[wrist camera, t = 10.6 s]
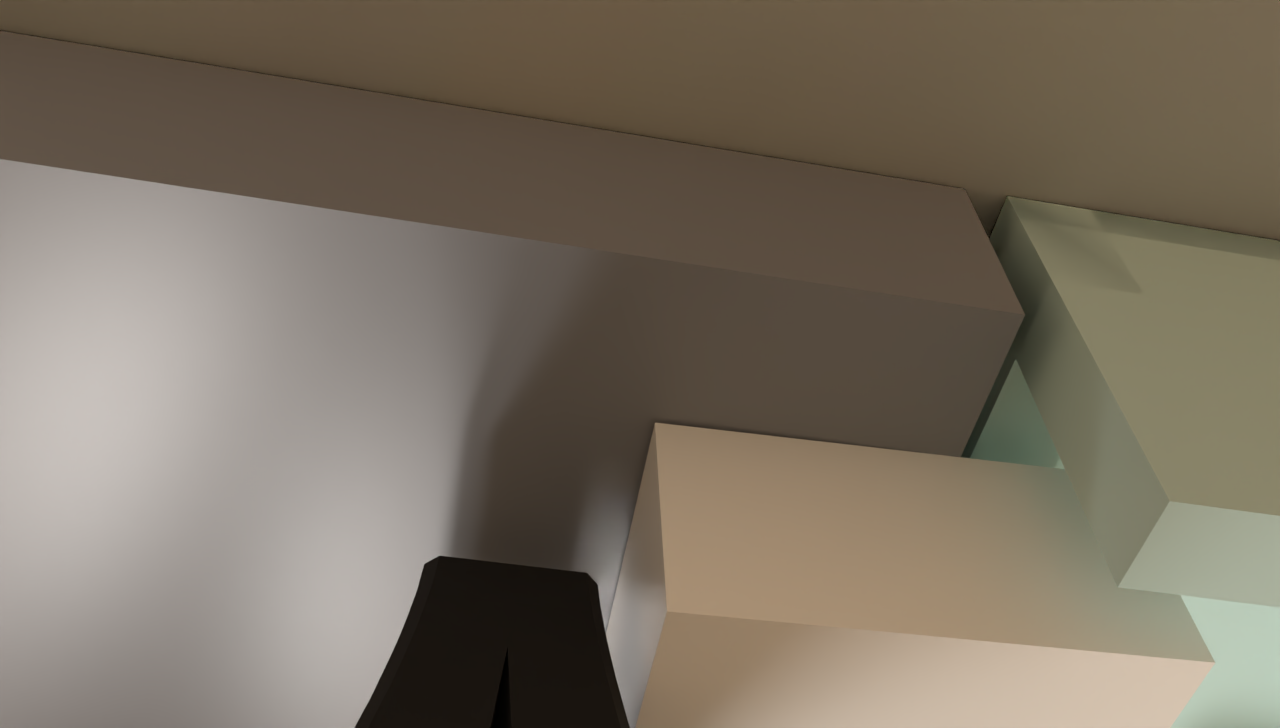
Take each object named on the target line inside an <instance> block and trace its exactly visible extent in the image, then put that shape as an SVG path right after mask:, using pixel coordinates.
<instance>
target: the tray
mask: <svg viewBox="0 0 1280 728" xmlns="http://www.w3.org/2000/svg"><path fill="white" fill-rule="evenodd" d="M989 240H990V243H991V245H992V247H993V249H994V251H995V253H996V255H997V257H998V259H999V261H1000V263H1001V265H1002V268H1003V270H1004V272H1005V274H1006V276H1007V278H1008V280H1009V282H1010V284H1011V286H1012V288H1013V290H1014V293H1015V295H1016V297H1017V299H1018V301H1019V303H1020V305H1021V307H1022V309H1023V311H1024V313H1025V316H1024V318H1023V321H1022V323H1021V325H1020V327H1019V329H1018V332H1017V334H1016V336H1015V338H1014V340H1013V343H1012V345H1011V347H1010V349H1009V352H1008V354H1007V356H1006V358H1005V360H1004V363H1003V365H1002V367H1001V369H1000V371H999V374H998V376H997V378H996V380H995V382H994V385H993V387H992V389H991V391H990V393H989V396H988V398H987V400H986V402H985V405H984V407H983V409H982V411H981V413H980V416H979V418H978V420H977V422H976V424H975V427H974V429H973V431H972V433H971V435H970V438H969V440H968V442H967V444H966V446H965V449H964V451H963V453H962V455H961V457H963V458H971V459H980V460H989V461H998V462H1007V463H1015V464H1024V465H1033V466H1042V467H1051V468H1059V469H1065V470H1066V473H1067V475H1068V477H1069V479H1070V481H1071V484H1072V486H1073V488H1074V490H1075V493H1076V495H1077V497H1078V499H1079V502H1080V504H1081V506H1082V508H1083V511H1084V513H1085V515H1086V517H1087V520H1088V522H1089V524H1090V526H1091V529H1092V531H1093V533H1094V535H1095V538H1096V540H1097V542H1098V544H1099V547H1100V549H1101V551H1102V553H1103V556H1104V558H1105V560H1106V562H1107V565H1108V567H1109V569H1110V571H1111V574H1112V576H1113V578H1114V580H1115V582H1116V585H1117V587H1119V588H1127V589H1135V590H1143V591H1151V592H1159V593H1167V594H1175V595H1181V597H1182V599H1183V601H1184V603H1185V605H1186V607H1187V609H1188V611H1189V613H1190V615H1191V617H1192V619H1193V621H1194V623H1195V624H1196V626H1197V628H1198V630H1199V632H1200V634H1201V636H1202V638H1203V640H1204V642H1205V644H1206V646H1207V648H1208V650H1209V652H1210V653H1211V655H1212V657H1213V659H1214V661H1215V664H1214V665H1213V667H1212V668H1211V670H1210V671H1209V673H1208V674H1207V675H1206V677H1205V678H1204V680H1203V681H1202V683H1201V684H1200V686H1199V687H1198V688H1197V690H1196V691H1195V693H1194V694H1193V696H1192V697H1191V699H1190V700H1189V701H1188V703H1187V704H1186V706H1185V707H1184V709H1183V710H1182V712H1181V713H1180V714H1179V716H1178V717H1177V719H1176V720H1175V722H1174V723H1173V725H1172V726H1171V727H1170V728H1280V241H1278V240H1272V239H1266V238H1260V237H1254V236H1247V235H1241V234H1235V233H1229V232H1223V231H1217V230H1211V229H1205V228H1199V227H1193V226H1187V225H1180V224H1174V223H1168V222H1162V221H1156V220H1150V219H1144V218H1138V217H1132V216H1126V215H1120V214H1113V213H1107V212H1101V211H1095V210H1089V209H1083V208H1077V207H1071V206H1065V205H1059V204H1053V203H1046V202H1040V201H1034V200H1028V199H1022V198H1016V197H1010V196H1007V198H1006V200H1005V202H1004V205H1003V207H1002V210H1001V212H1000V214H999V217H998V219H997V222H996V224H995V227H994V229H993V231H992V234H991V236H990V239H989Z"/></svg>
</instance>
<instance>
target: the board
mask: <svg viewBox="0 0 1280 728" xmlns="http://www.w3.org/2000/svg"><path fill="white" fill-rule="evenodd" d="M1024 316H1025V313H1024V311H1023V309H1022V307H1021V305H1020V303H1019V301H1018V299H1017V297H1016V295H1015V293H1014V290H1013V288H1012V286H1011V284H1010V282H1009V280H1008V278H1007V276H1006V274H1005V272H1004V270H1003V268H1002V265H1001V263H1000V261H999V259H998V257H997V255H996V253H995V251H994V249H993V247H992V245H991V243H990V240H989V238H988V236H987V234H986V232H985V230H984V228H983V226H982V224H981V222H980V220H979V217H978V215H977V213H976V211H975V209H974V207H973V205H972V203H971V201H970V199H969V197H968V195H967V192H966V190H965V189H961V188H955V187H949V186H943V185H937V184H931V183H925V182H919V181H912V180H906V179H900V178H894V177H888V176H882V175H876V174H870V173H864V172H858V171H852V170H845V169H839V168H833V167H827V166H821V165H815V164H809V163H803V162H797V161H791V160H785V159H778V158H772V157H766V156H760V155H754V154H748V153H742V152H736V151H730V150H724V149H718V148H711V147H705V146H699V145H693V144H687V143H681V142H675V141H669V140H663V139H657V138H651V137H644V136H638V135H632V134H626V133H620V132H614V131H608V130H602V129H596V128H590V127H584V126H577V125H571V124H565V123H559V122H553V121H547V120H541V119H535V118H529V117H523V116H517V115H510V114H504V113H498V112H492V111H486V110H480V109H474V108H468V107H462V106H456V105H450V104H443V103H437V102H431V101H425V100H419V99H413V98H407V97H401V96H395V95H389V94H383V93H376V92H370V91H364V90H358V89H352V88H346V87H340V86H334V85H328V84H322V83H316V82H309V81H303V80H297V79H291V78H285V77H279V76H273V75H267V74H261V73H255V72H249V71H242V70H236V69H230V68H224V67H218V66H212V65H206V64H200V63H194V62H188V61H182V60H175V59H169V58H163V57H157V56H151V55H145V54H139V53H133V52H127V51H121V50H115V49H108V48H102V47H96V46H90V45H84V44H78V43H72V42H66V41H60V40H54V39H48V38H41V37H35V36H29V35H23V34H17V33H11V32H5V31H0V728H355V726H356V724H357V722H358V720H359V718H360V717H361V715H362V713H363V711H364V709H365V707H366V706H367V704H368V702H369V700H370V698H371V696H372V694H373V692H374V690H375V688H376V686H377V684H378V681H379V679H380V677H381V675H382V673H383V671H384V669H385V667H386V665H387V663H388V661H389V658H390V656H391V654H392V652H393V650H394V647H395V645H396V643H397V641H398V638H399V636H400V634H401V631H402V629H403V626H404V624H405V622H406V619H407V616H408V614H409V611H410V608H411V606H412V603H413V600H414V597H415V595H416V592H417V589H418V585H419V581H420V578H421V574H422V570H423V567H424V564H425V563H427V562H429V561H431V560H432V559H434V558H436V557H438V556H448V557H456V558H465V559H473V560H482V561H490V562H499V563H508V564H516V565H525V566H533V567H542V568H550V569H559V570H568V571H576V572H585V573H588V574H589V575H590V577H591V578H592V579H593V580H594V581H595V582H596V583H597V584H598V591H599V599H600V605H601V611H602V617H603V622H604V628H605V633H606V632H607V627H608V623H609V619H610V614H611V610H612V606H613V601H614V597H615V593H616V588H617V584H618V580H619V575H620V571H621V567H622V562H623V558H624V554H625V550H626V545H627V541H628V537H629V532H630V528H631V524H632V519H633V515H634V511H635V506H636V502H637V498H638V493H639V489H640V485H641V480H642V476H643V472H644V467H645V463H646V459H647V455H648V450H649V446H650V442H651V437H652V433H653V429H654V424H655V423H663V424H672V425H681V426H690V427H699V428H707V429H716V430H725V431H734V432H743V433H751V434H760V435H769V436H778V437H787V438H795V439H804V440H813V441H822V442H831V443H839V444H848V445H857V446H866V447H875V448H883V449H892V450H901V451H910V452H919V453H927V454H936V455H945V456H953V457H961V455H962V453H963V451H964V449H965V446H966V444H967V442H968V440H969V438H970V435H971V433H972V431H973V429H974V427H975V424H976V422H977V420H978V418H979V416H980V413H981V411H982V409H983V407H984V405H985V402H986V400H987V398H988V396H989V393H990V391H991V389H992V387H993V385H994V382H995V380H996V378H997V376H998V374H999V371H1000V369H1001V367H1002V365H1003V363H1004V360H1005V358H1006V356H1007V354H1008V352H1009V349H1010V347H1011V345H1012V343H1013V340H1014V338H1015V336H1016V334H1017V332H1018V329H1019V327H1020V325H1021V323H1022V321H1023V318H1024Z"/></svg>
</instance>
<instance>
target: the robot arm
mask: <svg viewBox="0 0 1280 728" xmlns="http://www.w3.org/2000/svg"><path fill="white" fill-rule="evenodd" d="M355 728H630V726H629V723H628V720H627V716H626V712H625V709H624V705H623V701H622V698H621V694H620V691H619V687H618V683H617V680H616V676H615V672H614V668H613V664H612V660H611V655H610V651H609V647H608V642H607V637H606V633H605V628H604V622H603V617H602V611H601V605H600V599H599V591H598V584H597V583H596V582H595V581H594V580H593V579H592V578H591V577H590V575H589V574H588V573H585V572H576V571H568V570H559V569H550V568H542V567H533V566H525V565H516V564H508V563H499V562H490V561H482V560H473V559H465V558H456V557H448V556H438V557H436V558H434V559H432V560H431V561H429V562H427V563H425V564H424V567H423V570H422V574H421V578H420V581H419V585H418V589H417V592H416V595H415V597H414V600H413V603H412V606H411V608H410V611H409V614H408V616H407V619H406V622H405V624H404V626H403V629H402V631H401V634H400V636H399V638H398V641H397V643H396V645H395V647H394V650H393V652H392V654H391V656H390V658H389V661H388V663H387V665H386V667H385V669H384V671H383V673H382V675H381V677H380V679H379V681H378V684H377V686H376V688H375V690H374V692H373V694H372V696H371V698H370V700H369V702H368V704H367V706H366V707H365V709H364V711H363V713H362V715H361V717H360V718H359V720H358V722H357V724H356V726H355Z"/></svg>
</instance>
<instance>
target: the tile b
mask: <svg viewBox="0 0 1280 728" xmlns="http://www.w3.org/2000/svg"><path fill="white" fill-rule="evenodd" d="M606 637H607V642H608V647H609V651H610V655H611V660H612V664H613V668H614V672H615V676H616V680H617V683H618V687H619V691H620V694H621V698H622V701H623V705H624V709H625V712H626V716H627V720H628V723H629V726H630V728H1170V727H1171V726H1172V725H1173V723H1174V722H1175V720H1176V719H1177V717H1178V716H1179V714H1180V713H1181V712H1182V710H1183V709H1184V707H1185V706H1186V704H1187V703H1188V701H1189V700H1190V699H1191V697H1192V696H1193V694H1194V693H1195V691H1196V690H1197V688H1198V687H1199V686H1200V684H1201V683H1202V681H1203V680H1204V678H1205V677H1206V675H1207V674H1208V673H1209V671H1210V670H1211V668H1212V667H1213V665H1214V664H1215V661H1214V659H1213V657H1212V655H1211V653H1210V652H1209V650H1208V648H1207V646H1206V644H1205V642H1204V640H1203V638H1202V636H1201V634H1200V632H1199V630H1198V628H1197V626H1196V624H1195V623H1194V621H1193V619H1192V617H1191V615H1190V613H1189V611H1188V609H1187V607H1186V605H1185V603H1184V601H1183V599H1182V597H1181V595H1175V594H1167V593H1159V592H1151V591H1143V590H1135V589H1127V588H1119V587H1117V585H1116V582H1115V580H1114V578H1113V576H1112V574H1111V571H1110V569H1109V567H1108V565H1107V562H1106V560H1105V558H1104V556H1103V553H1102V551H1101V549H1100V547H1099V544H1098V542H1097V540H1096V538H1095V535H1094V533H1093V531H1092V529H1091V526H1090V524H1089V522H1088V520H1087V517H1086V515H1085V513H1084V511H1083V508H1082V506H1081V504H1080V502H1079V499H1078V497H1077V495H1076V493H1075V490H1074V488H1073V486H1072V484H1071V481H1070V479H1069V477H1068V475H1067V473H1066V470H1065V469H1059V468H1051V467H1042V466H1033V465H1024V464H1015V463H1007V462H998V461H989V460H980V459H971V458H963V457H953V456H945V455H936V454H927V453H919V452H910V451H901V450H892V449H883V448H875V447H866V446H857V445H848V444H839V443H831V442H822V441H813V440H804V439H795V438H787V437H778V436H769V435H760V434H751V433H743V432H734V431H725V430H716V429H707V428H699V427H690V426H681V425H672V424H663V423H655V424H654V429H653V433H652V437H651V442H650V446H649V450H648V455H647V459H646V463H645V467H644V472H643V476H642V480H641V485H640V489H639V493H638V498H637V502H636V506H635V511H634V515H633V519H632V524H631V528H630V532H629V537H628V541H627V545H626V550H625V554H624V558H623V562H622V567H621V571H620V575H619V580H618V584H617V588H616V593H615V597H614V601H613V606H612V610H611V614H610V619H609V623H608V627H607V632H606Z"/></svg>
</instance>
